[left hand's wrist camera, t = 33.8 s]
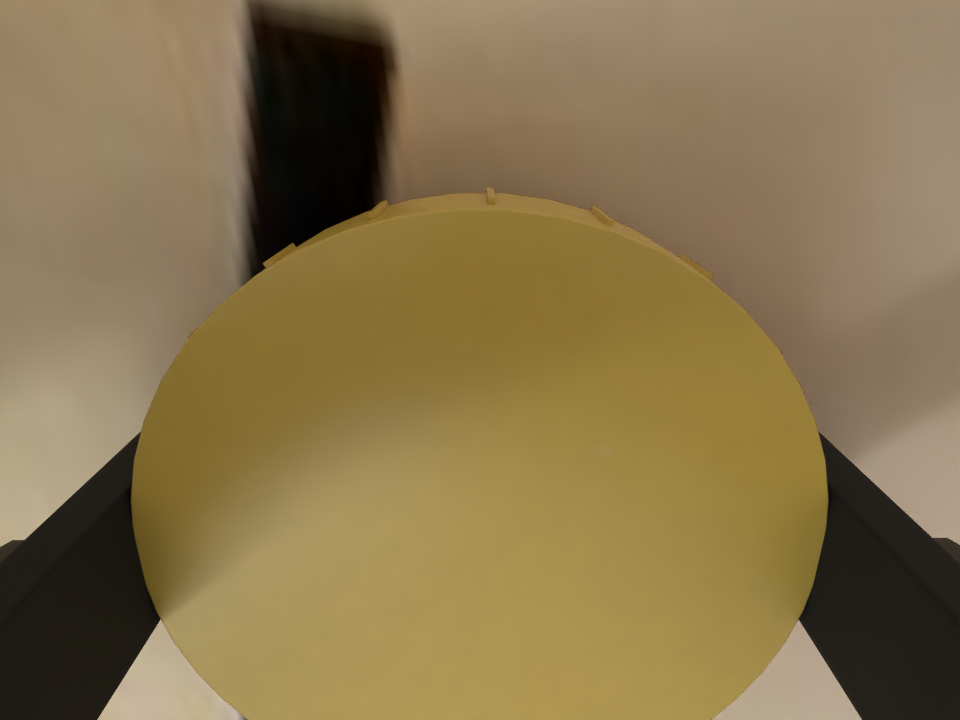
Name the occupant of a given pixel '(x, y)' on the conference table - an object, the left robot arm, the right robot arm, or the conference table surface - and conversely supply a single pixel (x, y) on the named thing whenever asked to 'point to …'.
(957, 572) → the left robot arm
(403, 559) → the lid
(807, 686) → the conference table surface
